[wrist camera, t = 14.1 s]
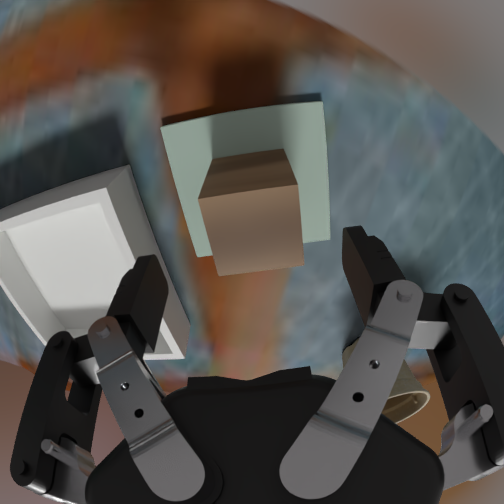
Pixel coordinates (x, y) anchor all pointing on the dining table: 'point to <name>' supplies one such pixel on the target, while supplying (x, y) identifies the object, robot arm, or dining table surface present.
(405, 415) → the flower pot
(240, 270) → the walnut block
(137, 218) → the white bin
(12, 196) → the dining table surface
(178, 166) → the sage mat
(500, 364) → the robot arm
